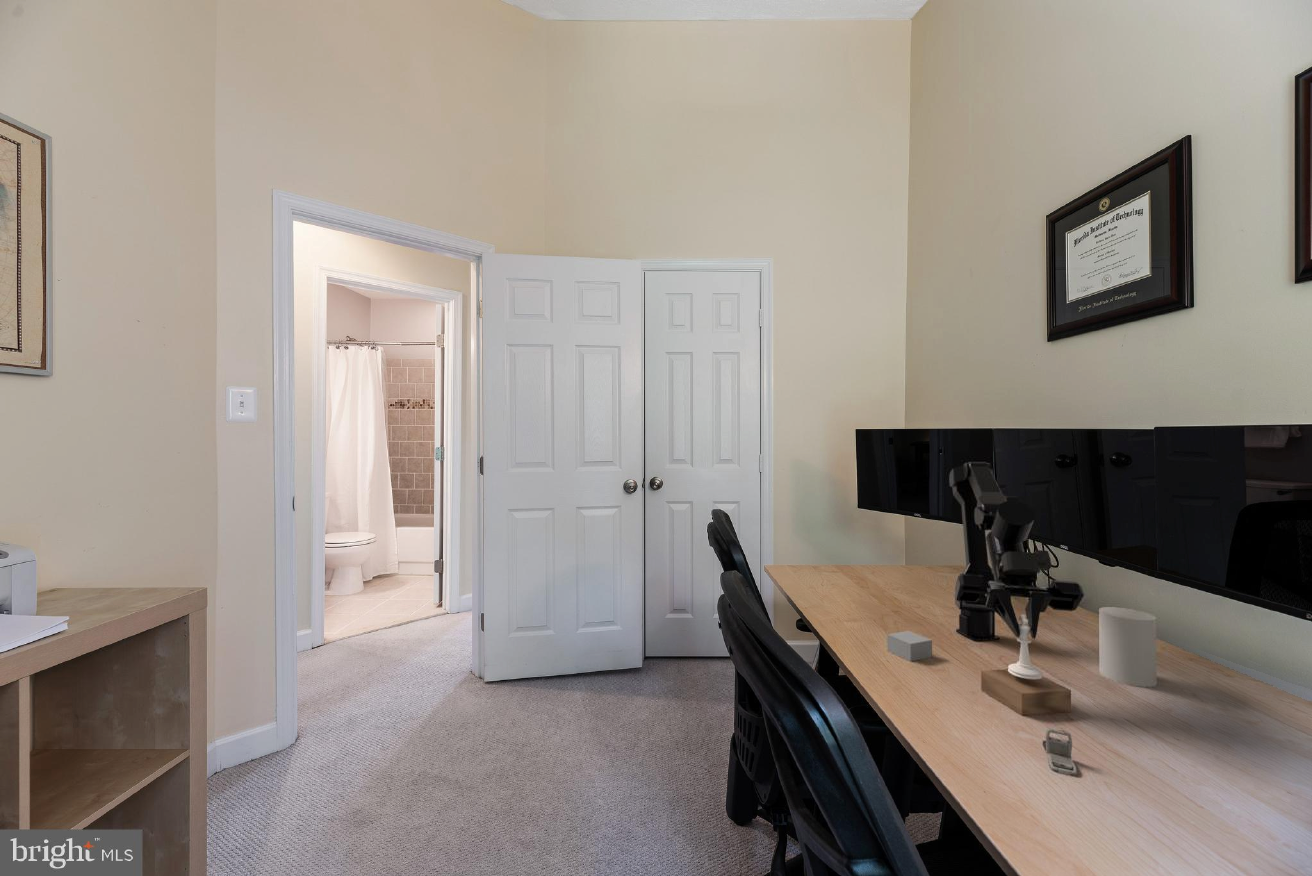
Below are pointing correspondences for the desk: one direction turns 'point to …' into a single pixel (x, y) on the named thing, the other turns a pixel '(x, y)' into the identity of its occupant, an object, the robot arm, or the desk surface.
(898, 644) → the slate block
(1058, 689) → the walnut block
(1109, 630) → the white cylinder
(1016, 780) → the desk surface
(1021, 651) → the chess piece
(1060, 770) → the grey sandwich maker
